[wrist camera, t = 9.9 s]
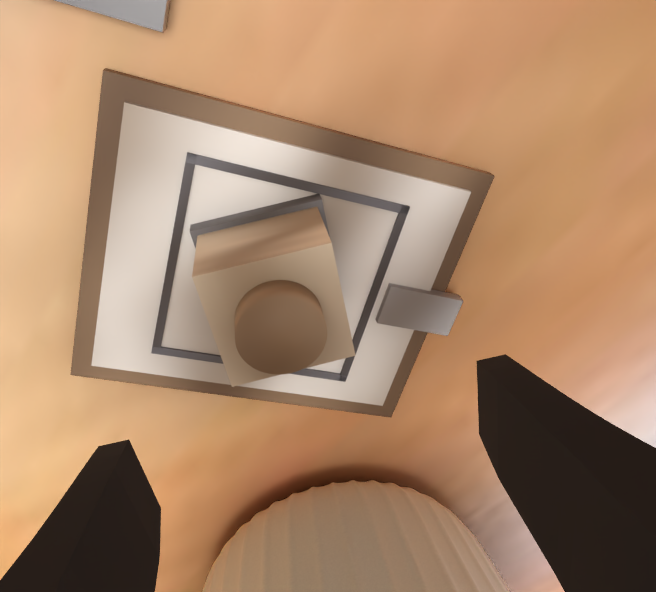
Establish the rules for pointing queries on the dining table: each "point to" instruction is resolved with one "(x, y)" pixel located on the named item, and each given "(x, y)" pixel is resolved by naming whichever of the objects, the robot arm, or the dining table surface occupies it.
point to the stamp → (271, 289)
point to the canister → (354, 545)
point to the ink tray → (129, 10)
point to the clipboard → (247, 194)
